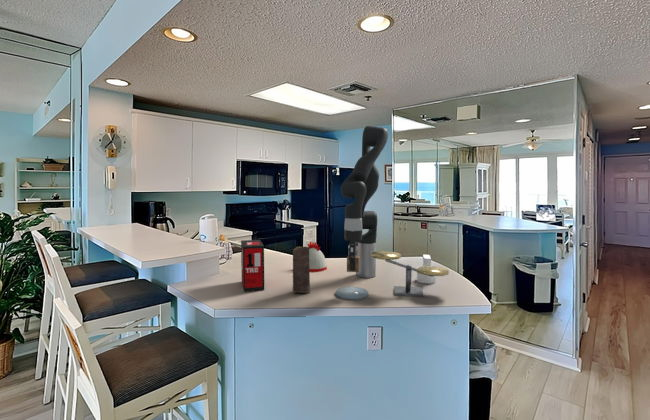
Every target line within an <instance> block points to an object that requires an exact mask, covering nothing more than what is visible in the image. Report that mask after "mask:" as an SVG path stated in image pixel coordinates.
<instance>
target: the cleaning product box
mask: <svg viewBox="0 0 650 420" xmlns="http://www.w3.org/2000/svg"><path fill="white" fill-rule="evenodd" d="M240 251H241V252H240V253H241V255H240V257H241V261H240V262H241V284H242V291H243V293H247V292H248V293H249V292H250V293H251V292H258V291H261V292H262V291H265V245H264V243H263V242H262V241H261V239H248V240H247V239H246V240H245V239H244V240H240Z"/></svg>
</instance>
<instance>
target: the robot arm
mask: <svg viewBox="0 0 650 420" xmlns="http://www.w3.org/2000/svg"><path fill="white" fill-rule="evenodd" d="M362 131H363V132H362V138H361V156H360V157H359V159H358V160H357V161H356V163H355V165H354V167H353V170H352V171H351V173H350V174H349V175H348V176H347V177H346V178H345V179H344V181H343V182H342V184H341V187H340V193H341V195H342V197H344V198H346V199H354V200H353V202H352V203H347V204H346V205H345V207H344V213H345V214H344V240H345V241H347V242H348V241H349V243H348V244H347V245H348V246H347V248H348V255H349V261H350V270H355V261H356V256H360V270H359V272H355V275H356V276H358V277H360V278H365V279H366V278H368V279H369V278H374V277H376V273H377V271H376V270H377V269H376V268H377V267H376V265H377V264H376V263H377V262H376V261H377V259H376V258H373V257H371V253H372V252H377V233H378V232H377V229H378V215H377V212H376V211H373V210H365V209H366V206H367V204H368V202H369V201H370V199H371V198H372V197H373V196H374V194H375V193H376V192H377V191H378V187H379V180H380V173H379V170H378V168H377V166H376V164H375V162H376V161H377V159H378V158H379V156H380V155H381V153H382V152H383V150H384V149H385V148H386V147H385V146H386V144H387V142H388V137H389V132H388V129H387V128H385V127H383V126H382V127H381V126H373V125H366V126H365V127H364V129H363V130H362ZM363 230H368V231H366V232H365V233H363ZM351 256H354V258H351Z"/></svg>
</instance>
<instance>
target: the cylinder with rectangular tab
mask: <svg viewBox="0 0 650 420" xmlns="http://www.w3.org/2000/svg"><path fill="white" fill-rule="evenodd" d="M422 266H432V258H431V255H430V254H422ZM416 281H417V282H418V283H422V284H435V283H437V276H432V277H431V276H428V275H423V274H420V273H418V272H416Z"/></svg>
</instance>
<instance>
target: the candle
mask: <svg viewBox="0 0 650 420" xmlns="http://www.w3.org/2000/svg"><path fill="white" fill-rule="evenodd" d="M310 274H311V272H310V269H309V247H308V246H296V247H295V248H292V291H293V292H295V293H299V294H300V293H302V294H304V293H310V292H311V291H310V290H311V280H310V279H311V278H310V277H311V276H310Z"/></svg>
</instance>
